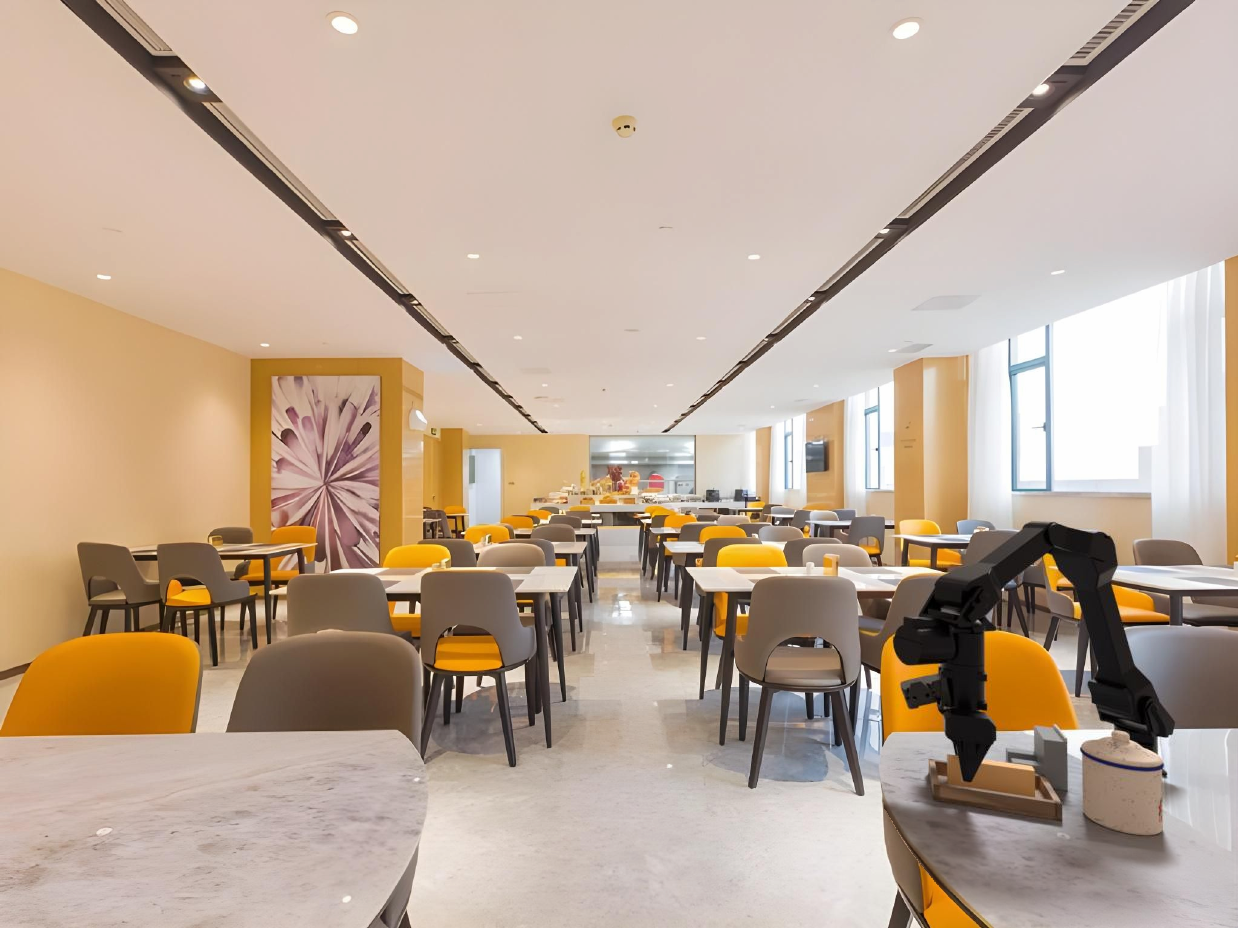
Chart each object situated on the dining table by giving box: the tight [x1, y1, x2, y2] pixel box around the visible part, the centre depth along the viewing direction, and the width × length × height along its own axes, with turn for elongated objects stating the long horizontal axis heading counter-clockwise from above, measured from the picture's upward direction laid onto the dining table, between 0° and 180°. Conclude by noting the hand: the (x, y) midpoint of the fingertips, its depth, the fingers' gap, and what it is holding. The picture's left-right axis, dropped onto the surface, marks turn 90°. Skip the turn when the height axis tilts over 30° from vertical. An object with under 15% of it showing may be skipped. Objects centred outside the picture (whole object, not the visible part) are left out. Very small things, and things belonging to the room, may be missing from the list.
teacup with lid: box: [1079, 729, 1165, 836], centre depth 93 cm, size 12×9×12 cm
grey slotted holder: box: [1005, 723, 1069, 792], centre depth 105 cm, size 7×7×8 cm
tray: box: [928, 758, 1063, 822], centre depth 99 cm, size 11×16×2 cm
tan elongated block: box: [946, 753, 1035, 798], centre depth 99 cm, size 2×11×4 cm, turn 69°
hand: (963, 769), depth 100 cm, fingers open, 9 cm apart
